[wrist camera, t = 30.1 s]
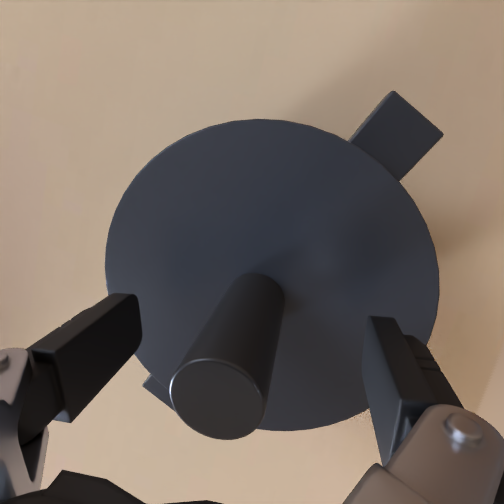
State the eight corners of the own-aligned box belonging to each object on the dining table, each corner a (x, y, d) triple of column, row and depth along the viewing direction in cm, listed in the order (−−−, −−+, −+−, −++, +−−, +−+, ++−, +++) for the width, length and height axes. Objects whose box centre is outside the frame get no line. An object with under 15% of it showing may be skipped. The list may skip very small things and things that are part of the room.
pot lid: (511, 279, 11) (751, 426, 5) (280, 455, 16) (260, 643, 10) (229, 38, 11) (117, -123, 5) (74, 295, 15) (-85, 388, 9)
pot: (448, 196, 19) (569, 232, 10) (268, 366, 25) (244, 480, 16) (293, 64, 18) (276, -24, 9) (148, 270, 25) (56, 335, 16)
